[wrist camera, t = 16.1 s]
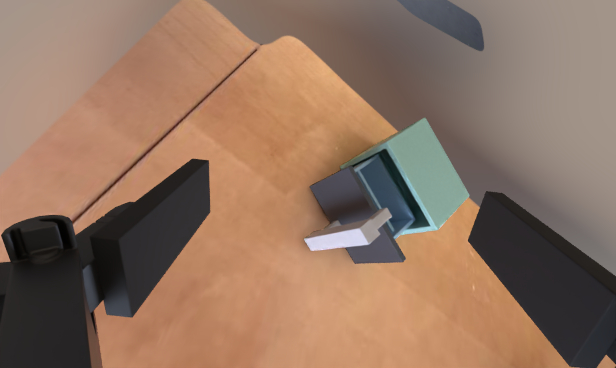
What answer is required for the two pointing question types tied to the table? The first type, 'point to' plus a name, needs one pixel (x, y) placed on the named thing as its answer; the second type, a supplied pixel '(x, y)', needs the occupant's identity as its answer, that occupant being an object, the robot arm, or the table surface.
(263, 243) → the table surface
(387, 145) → the box
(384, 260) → the dark grey drawer
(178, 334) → the table surface
